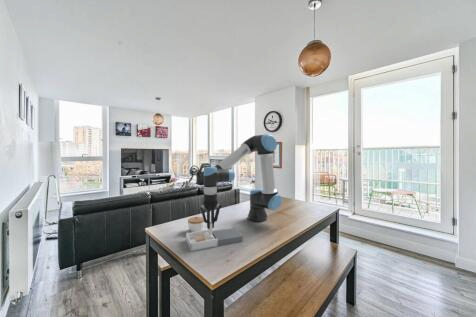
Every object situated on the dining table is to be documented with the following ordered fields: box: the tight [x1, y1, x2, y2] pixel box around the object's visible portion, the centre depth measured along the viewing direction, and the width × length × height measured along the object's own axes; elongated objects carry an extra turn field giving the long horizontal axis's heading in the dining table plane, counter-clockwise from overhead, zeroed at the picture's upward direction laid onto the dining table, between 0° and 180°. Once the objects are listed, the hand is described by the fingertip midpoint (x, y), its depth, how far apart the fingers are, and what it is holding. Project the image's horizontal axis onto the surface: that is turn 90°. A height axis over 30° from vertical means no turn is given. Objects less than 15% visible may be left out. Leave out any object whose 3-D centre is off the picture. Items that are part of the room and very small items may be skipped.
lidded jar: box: [187, 216, 205, 232], centre depth 132 cm, size 11×11×9 cm
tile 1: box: [195, 236, 206, 242], centre depth 114 cm, size 5×5×2 cm
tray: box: [185, 229, 219, 252], centre depth 114 cm, size 15×15×4 cm
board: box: [212, 227, 244, 247], centre depth 120 cm, size 15×14×3 cm
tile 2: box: [203, 232, 215, 240], centre depth 116 cm, size 5×5×2 cm
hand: (210, 233), depth 116 cm, fingers closed
